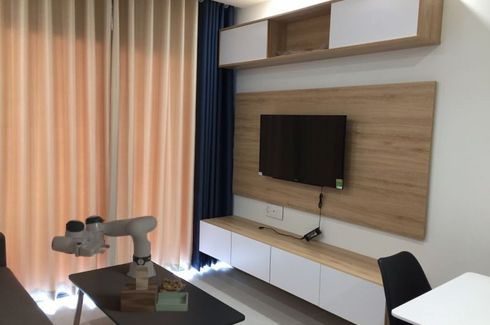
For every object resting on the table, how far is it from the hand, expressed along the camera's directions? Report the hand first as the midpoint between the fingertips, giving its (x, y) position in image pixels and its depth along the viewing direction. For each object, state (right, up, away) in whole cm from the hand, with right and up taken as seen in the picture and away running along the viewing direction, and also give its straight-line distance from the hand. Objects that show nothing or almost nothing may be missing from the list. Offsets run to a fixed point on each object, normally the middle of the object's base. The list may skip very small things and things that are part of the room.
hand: (106, 249), depth 231 cm
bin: (+35, -33, +5) cm, 48 cm away
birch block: (+19, -22, +2) cm, 29 cm away
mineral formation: (+32, -31, +22) cm, 50 cm away
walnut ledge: (+17, -32, +3) cm, 36 cm away
